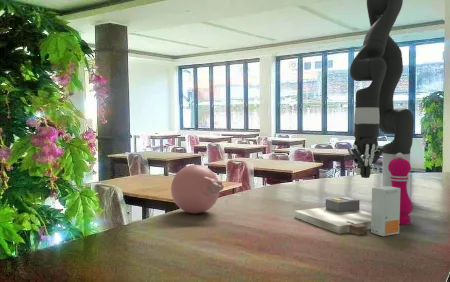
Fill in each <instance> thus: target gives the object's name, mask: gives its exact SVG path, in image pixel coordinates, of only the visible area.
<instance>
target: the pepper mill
mask: <svg viewBox="0 0 450 282" xmlns="http://www.w3.org/2000/svg"><path fill="white" fill-rule="evenodd" d="M396 157H397V158H396V159H393V160H391V161H390V163H389V165H388V169H389V171H390V173H391V175H390V180H391V182H392V187H396V188H400V220H399V224H400V225H399V226H401V225H403V226H404V225H405V224H406V225H410V224H411V216H410V214H411V213H412V212H413V202H412V199H411V200H410V198H409V196H408V193H407V181H408V180H409V179H408V177H409V176H408V173H409V172H410V173H411V170H412V165H411V162H410V163H409V162H408V161H407V160H406V159H403V154H402V153H397V155H396Z"/></svg>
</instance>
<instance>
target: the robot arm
mask: <svg viewBox="0 0 450 282" xmlns="http://www.w3.org/2000/svg"><path fill="white" fill-rule="evenodd" d="M403 3H404V0H366V8H367V9H366V10H367V16H368V20H369V25H370V26H369V27H370V28H368V30H367V31H366V34H365V36H364V39H363V43H362V45H361V46H362V47H361V48H360V50H359V51H358V53H357V54H356V55H355V57H354V58H353V60H352V62H351V64H350V67H349V74H350V77H351V78H352V80H354V81H355V82H369V81H370V82H371V83H370V84H369V86H367V87H364V88H360V89H358V90H356V92H355V101H354V102H355V107H354V109H355V110H354V116H353V118H354V119H353V138H355V139H354V142H353V146H351V147H348V149H347V151H348V153H349V155H350V156H351V158H352V160H353V162H354V163H355V164H357V165H359V166H360V171H359V175H360V177H361V178H364V179H369V178H370V176H371V172H372V171H371V169H372V165H374V164H377V162H378V161H379V158H380V157H381V155H382V169H381V171H382V174H381V175H382V177H381V179H382V181H381V187H383V186H391V187H392V182H391V180H390V175H391V173H390V171H389V169H388V165H389V163H390V161H391V160H393V159H396V158H397V157H396V155H397V153H402V154H403V159H406V160H407V161H408V162H409V163H410V164H411V149H412V146H413V138H414V137H413V136H414V126H415V125H414V124H415V120H414V115H413V112H412V111H411V109H408V108H395V107H394V106H395V105H394V95H395V94H394V93H395V90H396V88H397V86H398V84H399V81H401V77H402V75H403V71H404V64H403V63H404V61H403V54H402V50H401V48H400V46H399V45H398V43H397V42H396V41H395V40H394V39H393V37H391V35H390V33H391V31H392V28H393V26H394V25H395V23H396V20H397V18H398V16H399V15H400V12H401V9H402V7H403ZM380 132H381V133H383V134H384V135H394V136H393V139H392V141H391V142H388V143H386V144H384V145H383V146H382V147H381V146H379V141H378V138H379V137H380ZM408 176H409V177H408V179H409V180H408V181H407V193H408V196H409V198H410V200H411V201H412V188H413V186H412V185H413V183H412V181H413V180H412V178H413V175H412V174H411V171H410V172H409V173H408Z"/></svg>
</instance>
